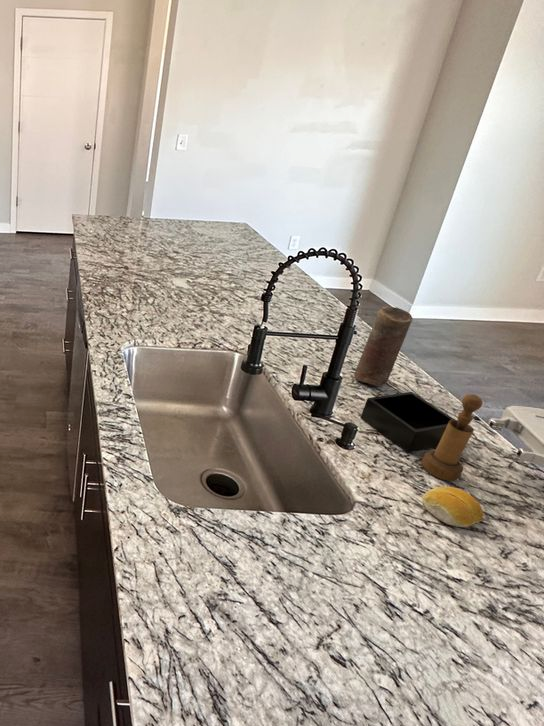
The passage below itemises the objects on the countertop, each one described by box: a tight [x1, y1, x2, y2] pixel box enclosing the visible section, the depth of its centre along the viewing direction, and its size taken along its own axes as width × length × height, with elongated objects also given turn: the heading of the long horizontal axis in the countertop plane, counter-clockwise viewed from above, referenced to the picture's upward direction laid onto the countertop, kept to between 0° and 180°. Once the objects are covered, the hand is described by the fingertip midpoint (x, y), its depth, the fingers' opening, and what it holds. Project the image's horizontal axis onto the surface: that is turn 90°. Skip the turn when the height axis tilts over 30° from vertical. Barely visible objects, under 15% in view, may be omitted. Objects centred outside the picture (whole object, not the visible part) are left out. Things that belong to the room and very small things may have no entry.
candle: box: [353, 306, 413, 387], centre depth 135 cm, size 8×7×20 cm
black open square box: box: [360, 391, 456, 454], centre depth 119 cm, size 13×13×6 cm
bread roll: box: [421, 486, 484, 528], centre depth 98 cm, size 8×9×4 cm
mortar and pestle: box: [420, 393, 483, 482], centre depth 105 cm, size 7×6×18 cm
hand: (504, 438), depth 103 cm, fingers open, 8 cm apart
